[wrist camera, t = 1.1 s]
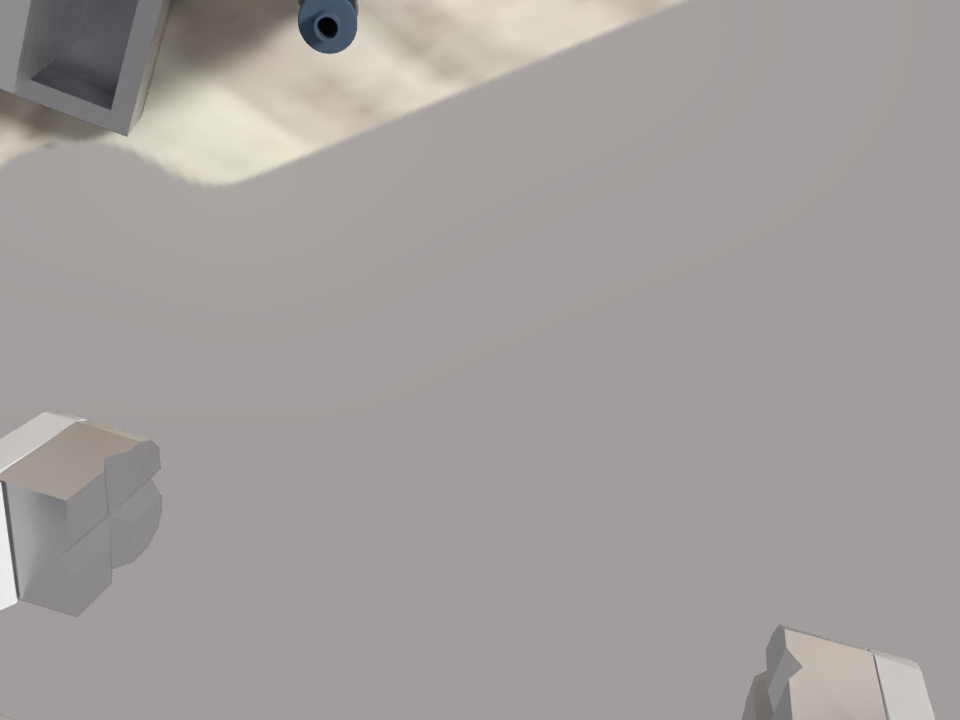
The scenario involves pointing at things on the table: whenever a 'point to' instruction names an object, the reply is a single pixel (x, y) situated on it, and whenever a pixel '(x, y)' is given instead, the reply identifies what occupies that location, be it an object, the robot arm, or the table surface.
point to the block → (35, 36)
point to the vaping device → (328, 24)
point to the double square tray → (105, 65)
